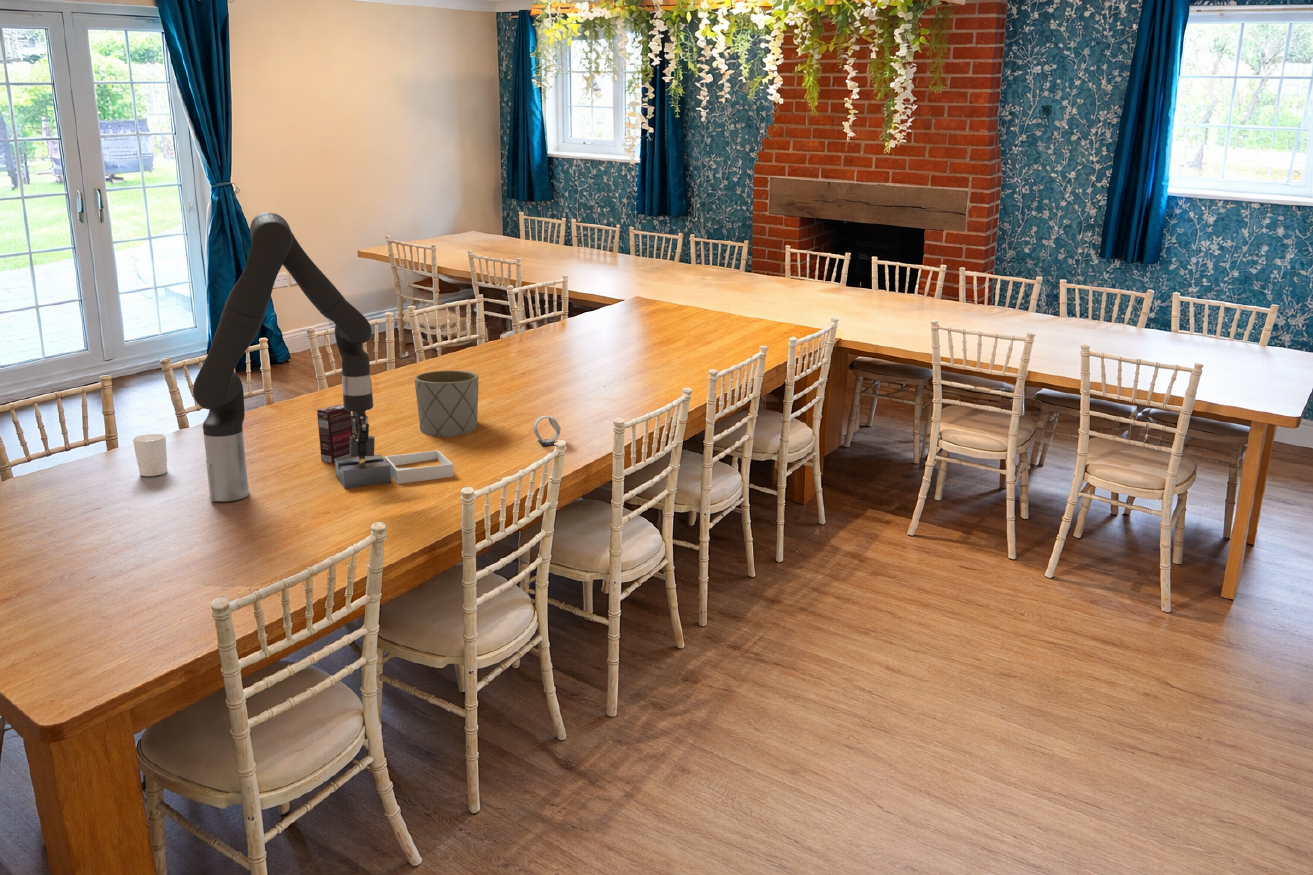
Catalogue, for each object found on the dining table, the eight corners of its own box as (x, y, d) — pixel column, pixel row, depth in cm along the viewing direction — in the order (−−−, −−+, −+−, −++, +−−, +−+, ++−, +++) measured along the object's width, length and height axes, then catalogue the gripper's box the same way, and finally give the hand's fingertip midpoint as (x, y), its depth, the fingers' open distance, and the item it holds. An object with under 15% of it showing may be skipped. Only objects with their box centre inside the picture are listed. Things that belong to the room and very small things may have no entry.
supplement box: (343, 457, 290) (339, 403, 285) (355, 459, 287) (351, 405, 283) (320, 464, 282) (315, 409, 278) (332, 466, 280) (328, 411, 276)
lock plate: (344, 488, 261) (343, 471, 260) (336, 476, 272) (335, 459, 270) (390, 482, 267) (389, 465, 265) (381, 470, 277) (379, 454, 276)
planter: (407, 445, 302) (404, 381, 297) (431, 430, 320) (428, 369, 315) (468, 449, 299) (465, 384, 294) (488, 433, 317) (486, 371, 312)
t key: (371, 473, 271) (372, 435, 269) (373, 475, 269) (374, 438, 267) (349, 474, 269) (349, 436, 266) (350, 476, 267) (351, 438, 264)
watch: (563, 453, 297) (562, 417, 294) (537, 455, 294) (536, 419, 291) (557, 448, 302) (557, 412, 299) (531, 450, 299) (531, 415, 296)
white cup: (174, 472, 273) (170, 437, 270) (144, 479, 267) (139, 442, 265) (162, 467, 278) (158, 432, 275) (132, 472, 272) (128, 437, 270)
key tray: (397, 483, 266) (396, 470, 265) (384, 468, 279) (384, 456, 278) (453, 476, 273) (453, 464, 272) (438, 462, 286) (438, 450, 285)
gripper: (377, 395, 259) (381, 459, 263) (366, 385, 271) (371, 446, 275) (347, 397, 256) (352, 462, 260) (338, 387, 268) (342, 449, 272)
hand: (361, 454), depth 268 cm, fingers closed on t key, 2 cm apart
